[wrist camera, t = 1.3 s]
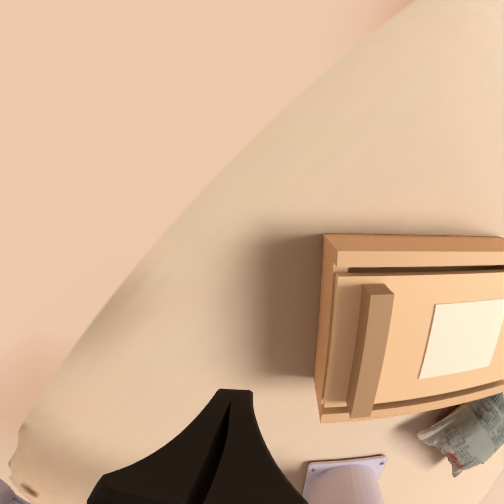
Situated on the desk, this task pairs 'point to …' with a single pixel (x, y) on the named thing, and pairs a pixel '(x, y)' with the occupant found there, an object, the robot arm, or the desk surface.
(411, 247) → the light brown rectangular box
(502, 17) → the desk surface
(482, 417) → the packaged food
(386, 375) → the lid
